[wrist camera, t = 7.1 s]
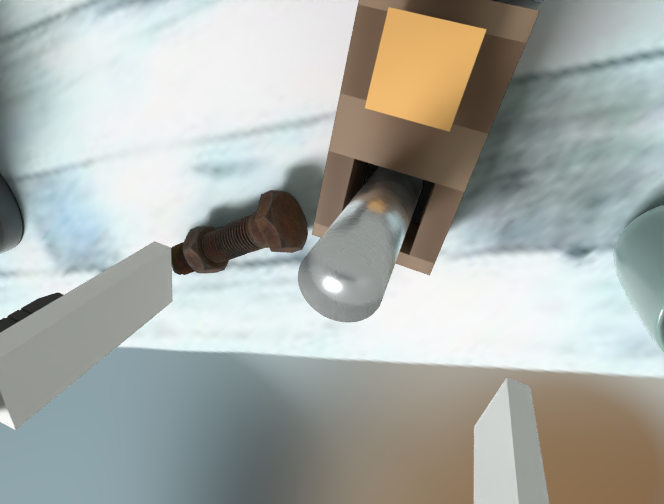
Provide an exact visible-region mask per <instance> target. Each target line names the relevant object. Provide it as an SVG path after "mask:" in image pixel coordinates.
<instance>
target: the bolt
mask: <svg viewBox="0 0 664 504" xmlns="http://www.w3.org/2000/svg"><path fill="white" fill-rule="evenodd" d="M307 235H308V230H307V223H306V219H305V215H304V213H303V212H302V209H301V207H300V205H299V204H298V202H297V201H296V200H295V199H294V198H293V197H292V196H291V195H290V194H289V193H287V192H284V191H273V190H271V191H269V192H266V193H264V194H261V198H260V202H259V206H258V210H257V212H255V213H253V214H252V215H250V216H247V217H245V218H242V219H240V220H237V221H235V222H232V223H230V224H228V225H225V226H223V227H220V228H218V229H217V228H214V227H196V228H194V229H191V230H190V231H189V233H188V235H187V237H186V239H185V241H184V242H183V243H180V244H178V245H175V246H173V247H172V248H171V265H172V268H173V271H174V272H175V273H177V274H179V275H181V274H183V275H186V274H189V273H191V272H194V271H196V272H197V273H215V272H219V271H222V270H224V269H225V268H226V266H227V264H228V261H229V260H230V259H233V258H236V257H238V256H241V255H245V254H247V253H250V252H253V251H257V250H259V249H263V248H268V247H269V248H270V250H271V251H272V252H290V253H293V252H296V251H299V250H302V249H303V247H304V245H305V242H306V240H307Z"/></svg>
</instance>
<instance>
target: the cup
mask: <svg viewBox="0 0 664 504" xmlns="http://www.w3.org/2000/svg"><path fill="white" fill-rule="evenodd" d="M613 256H614V264H615V270H616V273H617V276H618V279H619V281H620V283H621V286H622V288H623V290H624V292H625V294H626V296H627V298H628V300H629V302H630V304H631V305H632V307H633V309H634V310H635V312H636V314H637V315H638V317H639V318H640V320H641V322H642V323H643V325H644V326H645V328H646V330H647V331H648V333H649V334H650V336H651V337H652V338H653V340H654V341H655V343H656V344H657V345H658V347H659V348H660V350H661V351H662V352H663V353H664V204H663V205H660V206H657V207H655V208H653V209H651V210H649V211H647V212H645V213H643V214H642V215H640V216H639V217H637V218H635V219H634V220H633V221H632V222H631V223H630V224H629V225H627V226H626V227H625V229H624V230H623V231H622V232H621V234H620V235H619V237H618V239H617V241H616V243H615V249H614V255H613Z"/></svg>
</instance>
